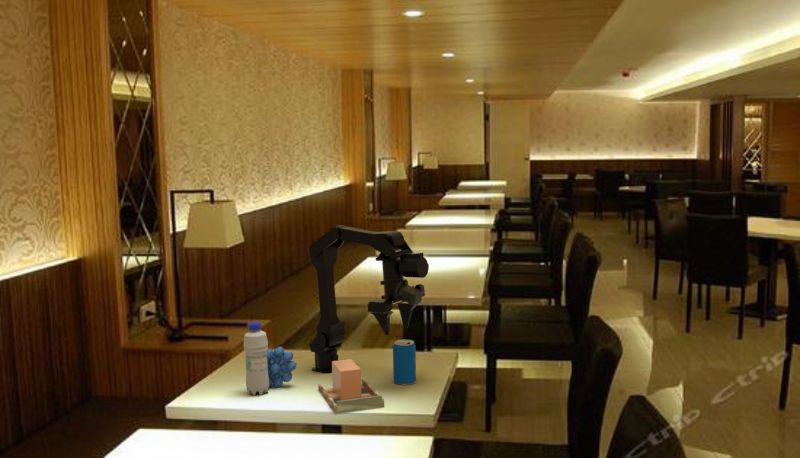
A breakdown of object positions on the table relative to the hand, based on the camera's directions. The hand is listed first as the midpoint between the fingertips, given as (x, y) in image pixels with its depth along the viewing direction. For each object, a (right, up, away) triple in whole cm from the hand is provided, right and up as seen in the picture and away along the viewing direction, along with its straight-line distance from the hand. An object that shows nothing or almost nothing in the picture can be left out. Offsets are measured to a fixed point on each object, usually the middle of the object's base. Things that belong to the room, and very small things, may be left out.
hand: (397, 331), depth 213 cm
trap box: (-13, -17, -10) cm, 23 cm away
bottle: (-39, -17, -3) cm, 42 cm away
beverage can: (+2, -15, +2) cm, 16 cm away
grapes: (-34, -16, +2) cm, 38 cm away
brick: (-14, -16, -7) cm, 22 cm away
